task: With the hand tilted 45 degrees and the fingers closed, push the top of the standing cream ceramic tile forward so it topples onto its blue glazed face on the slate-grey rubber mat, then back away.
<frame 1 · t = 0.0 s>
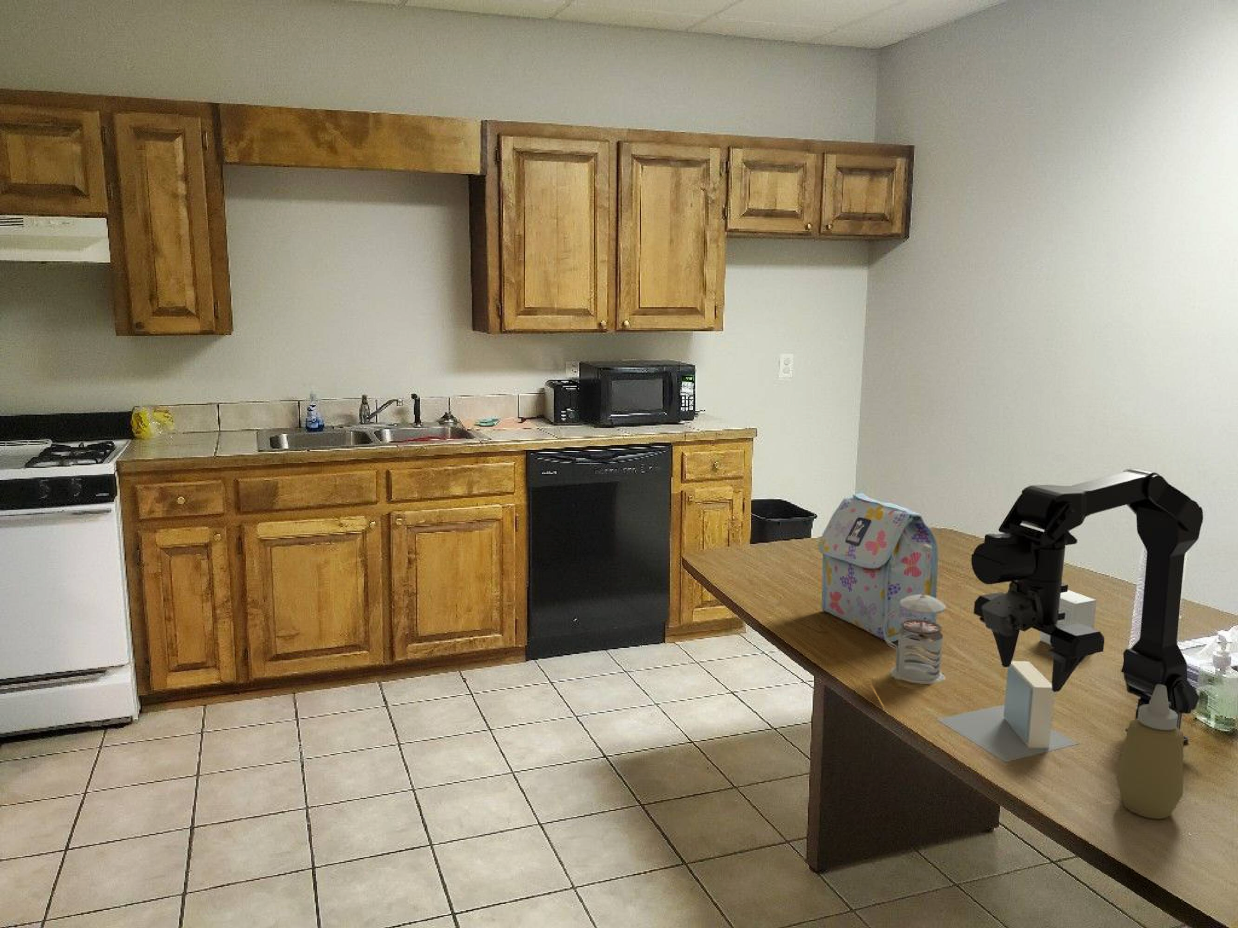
hand: (1030, 678, 135), 15 cm above the table, tool pointing down, fingers open, 9 cm apart
squeeze bottle: (1146, 809, 128), on the table
mat: (1005, 733, 149), on the table
small box: (1065, 646, 186), on the table
tile: (1024, 732, 149), resting on mat
lunch bag: (871, 623, 198), on the table
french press: (912, 675, 172), on the table
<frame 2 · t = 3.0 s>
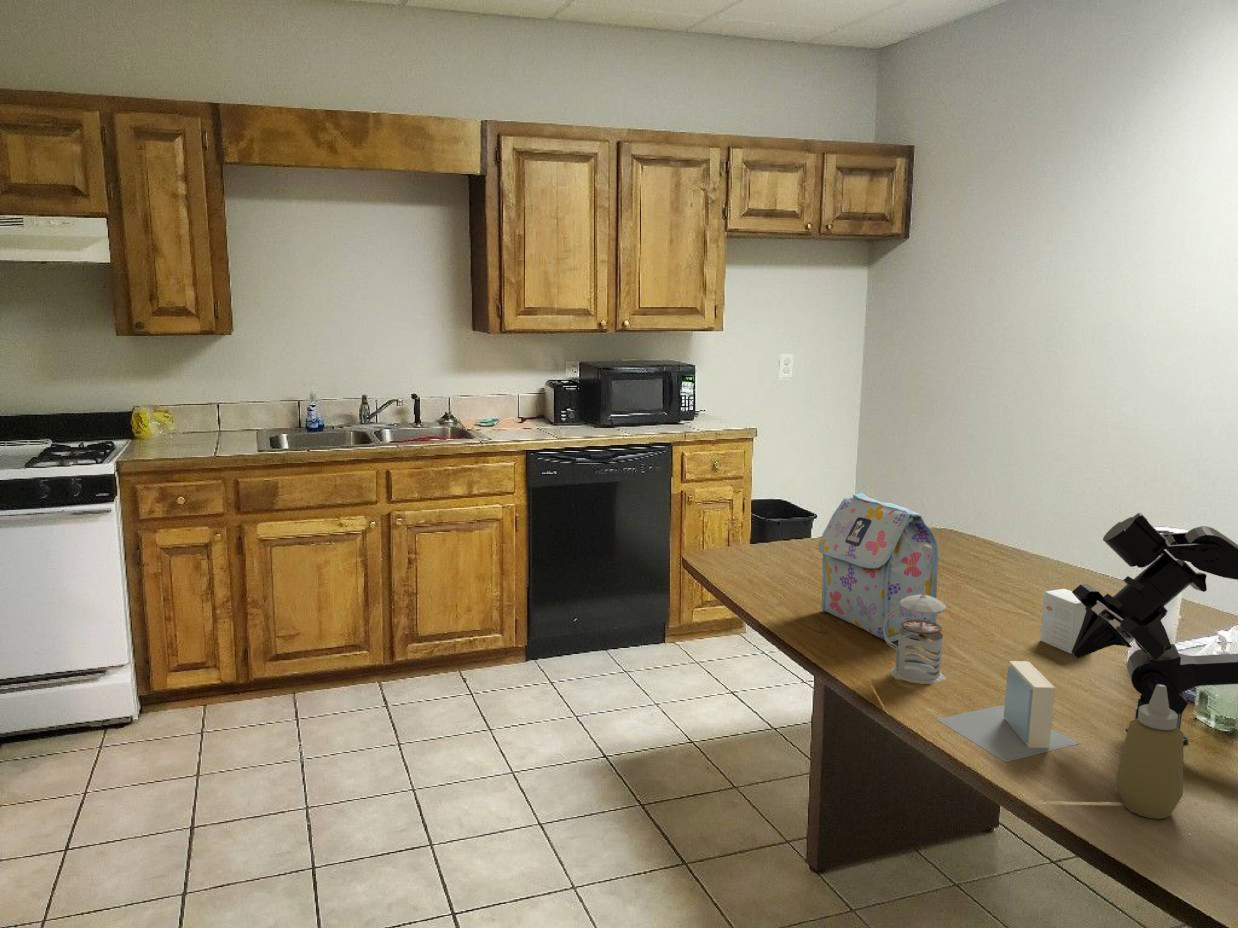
hand: (1074, 655, 146), 13 cm above the table, tool tilted 45°, fingers closed
nothing on the table moved.
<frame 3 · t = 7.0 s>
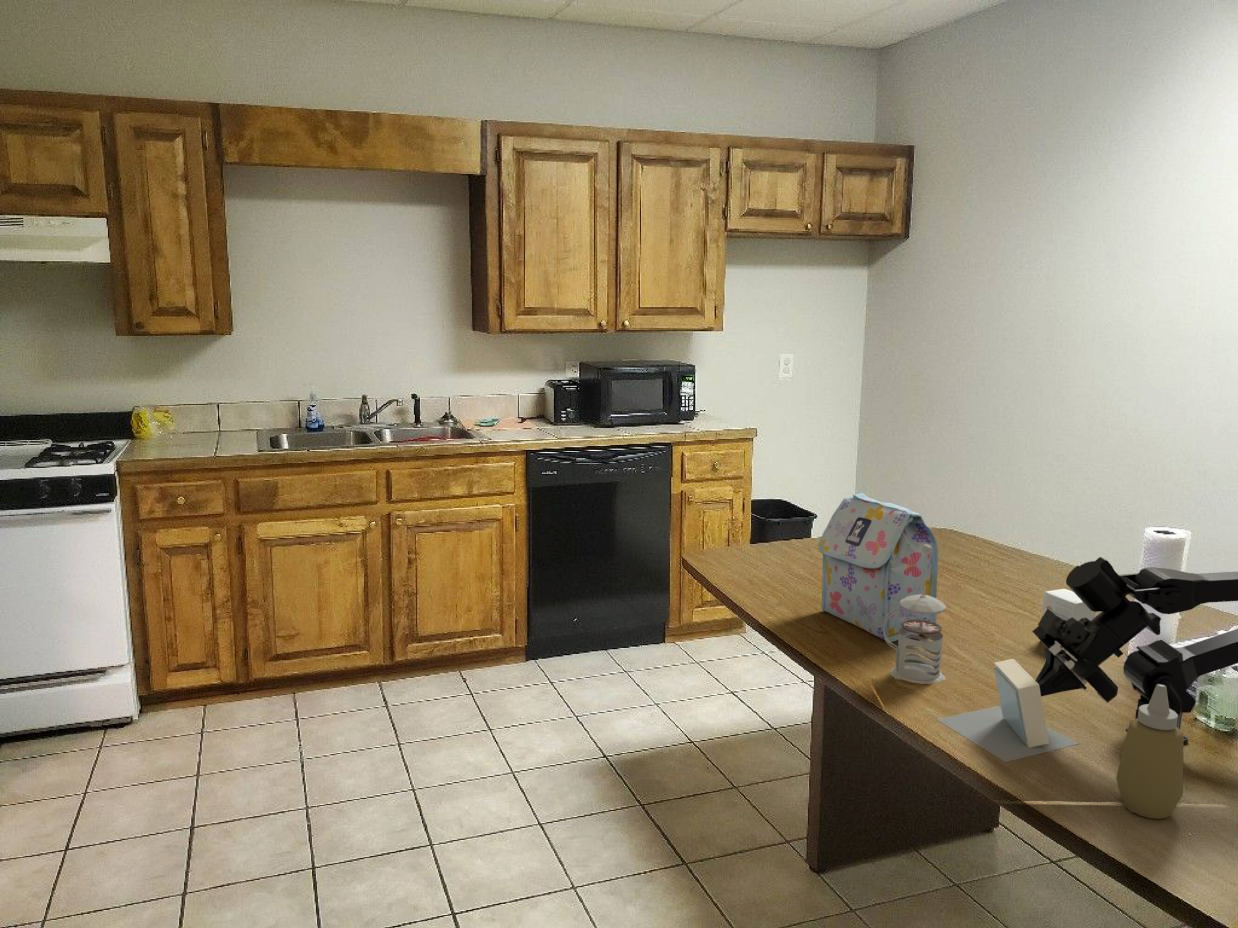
hand: (1031, 695, 148), 7 cm above the table, tool tilted 45°, fingers closed
tile: (1024, 730, 149), point 1 cm above the table, tilted 14°, touching mat
everything else where it was.
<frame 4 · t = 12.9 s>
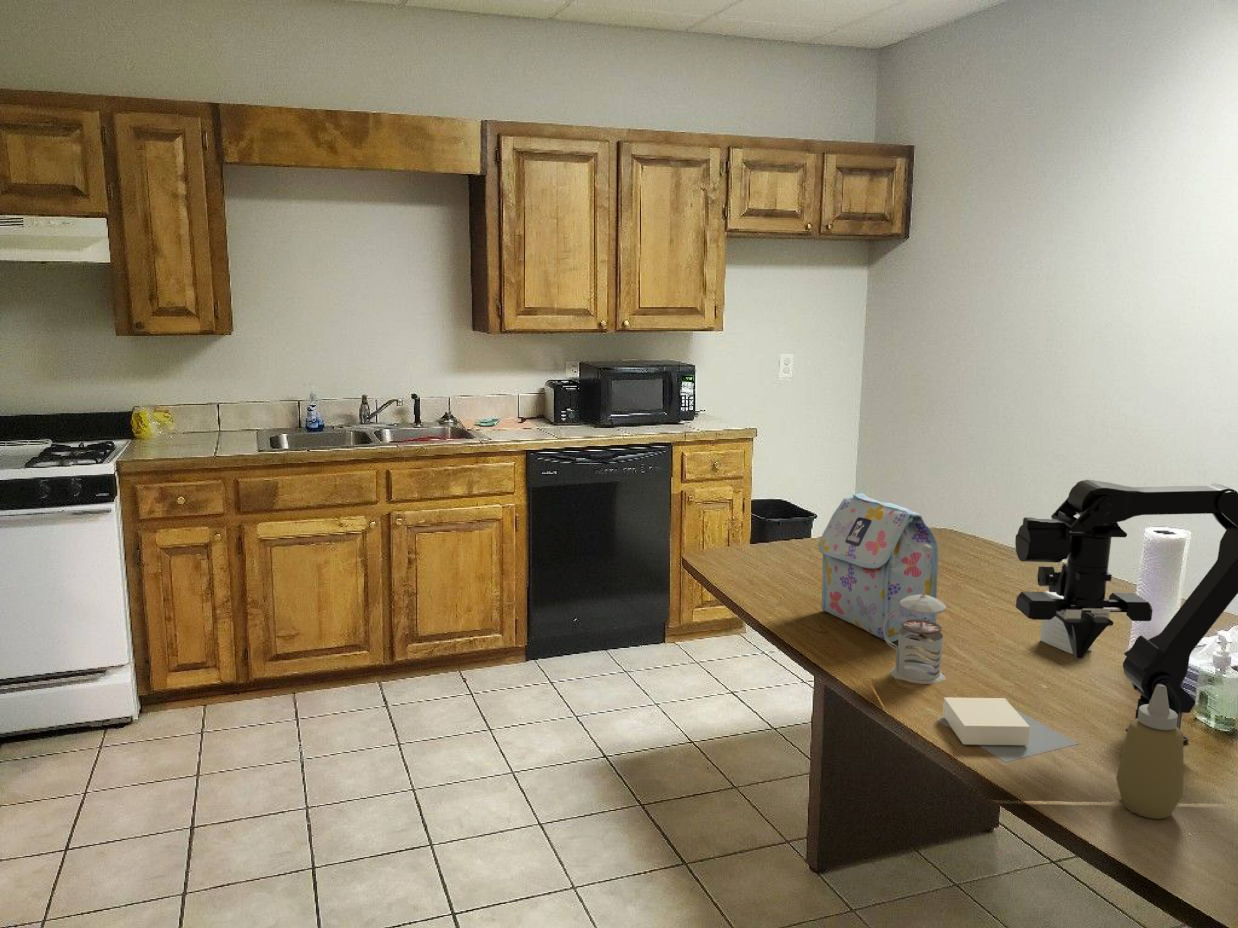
hand: (1077, 657, 147), 13 cm above the table, tool pointing down, fingers closed
tile: (1016, 722, 149), point 2 cm above the table, tilted 90°, touching mat
everything else where it was.
at the end: tile tilted 90°; tile inside the target area (3.4 cm from its centre), point 2.1 cm above the table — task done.
